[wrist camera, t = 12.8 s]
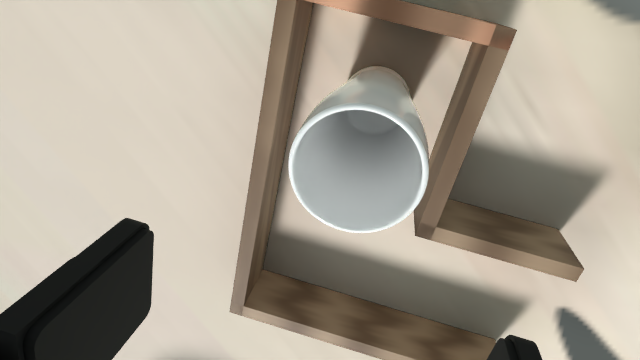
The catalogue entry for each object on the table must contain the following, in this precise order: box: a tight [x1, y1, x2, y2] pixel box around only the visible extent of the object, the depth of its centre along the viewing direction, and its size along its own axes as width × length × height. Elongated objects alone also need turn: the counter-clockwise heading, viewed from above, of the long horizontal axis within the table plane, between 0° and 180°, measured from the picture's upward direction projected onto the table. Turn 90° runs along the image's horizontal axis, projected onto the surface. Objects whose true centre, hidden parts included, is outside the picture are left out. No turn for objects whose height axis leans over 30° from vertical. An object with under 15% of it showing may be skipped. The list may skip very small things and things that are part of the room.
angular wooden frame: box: [230, 0, 584, 360], centre depth 32 cm, size 25×28×6 cm
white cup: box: [288, 66, 429, 233], centre depth 26 cm, size 7×7×15 cm
